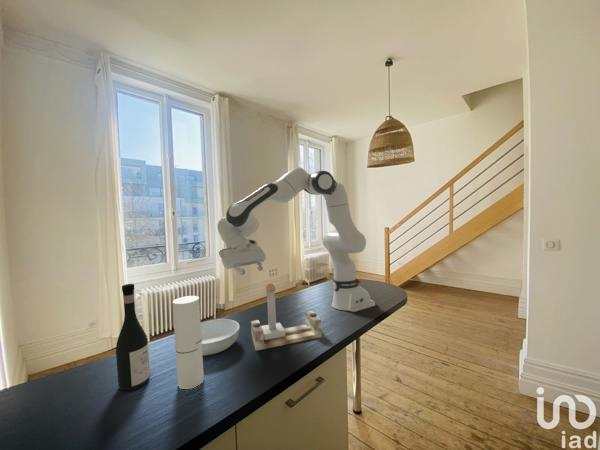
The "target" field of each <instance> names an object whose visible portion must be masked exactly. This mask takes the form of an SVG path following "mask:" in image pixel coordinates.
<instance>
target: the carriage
mask: <svg viewBox="0 0 600 450" xmlns="http://www.w3.org/2000/svg"><path fill="white" fill-rule="evenodd" d="M265 291H266V300H267V302H266V303H267V304H266V305H267V322H268V324H264V325H261V327H262V329H263V336H264V340H267V339H272V338H277V337H282V336H285V330H284V329H285V327H284V326H283V325H282V323H280V322H277V313H276V310H277V309H276V286H275V284H273V283H268V284H267V285H266V287H265Z"/></svg>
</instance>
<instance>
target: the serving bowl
mask: <svg viewBox="0 0 600 450" xmlns="http://www.w3.org/2000/svg"><path fill="white" fill-rule="evenodd" d="M239 334H240V324H239V322H238V321H236V320H233V319H230V318H229V319H227V318H215V319H211V320H209V319H208V320H205V321H201V339H202V355H203V356H210V355H215V354H218V353H221V352H223V351H225V350H227V349H228V348H230V347H231V346H232V345H233V344H234V343H235V342H236V341H237V339H238V337H239Z"/></svg>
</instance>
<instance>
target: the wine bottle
mask: <svg viewBox="0 0 600 450" xmlns="http://www.w3.org/2000/svg"><path fill="white" fill-rule="evenodd" d="M121 291H122V298H123V299H122V300H123V309H124V317H123V318H124V319H123V322H122V327H121V329H120V332H119V335H118V337H117V341H116V347H115V355H116V356H115V358H116V372H117V383H118V387H119V389H120V390H121V391H127V390H128V391H133V390H136V389H138V387H139V388H141V387H142V386H144V385H145V384H146V383H147V382H148V381H149V379H150V377H151V367H150V352H149V351H150V350H149V341H148V337H147V335H146V332H145V330H144V329H143V327H142V325H141V324H140V322H139V320H138V317H137V314H136V304H135V303H136V302H135V301H136V300H135V284H134V283H128V284H127V283H126V284H123V285H122V286H121ZM140 386H141V387H140ZM135 388H136V389H135ZM132 389H133V390H132Z"/></svg>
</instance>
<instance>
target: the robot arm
mask: <svg viewBox="0 0 600 450" xmlns="http://www.w3.org/2000/svg"><path fill="white" fill-rule="evenodd" d="M302 191H305V192H306V193H308V194H309V195H316V196H319V195H322V196H323V198H324V200H325V204H326V205H325V206H326V212H327V217H328V222H329V223H330V225H332V226H333V227H334V229H335V230H331V231H327V232H326V233H325V234H324V235H323V237H322V245H323V246H324V248H325V249H326V251H327V252H328V253H329V256H330V258H331V261H332V266H333V268H332V269H333V279H332V286H333V297H332V303H331V307H332V308H334V309H336V310H339V311H347V312H355V313H356V312H358V311H362V310H365V309H369V308H372V307H375V306H376V303H375V301H374V300H373V299H371V295H370V293H369V291H367V290H366V289H365V288H363V287H362V286H360V284H363V282H364V281H363V280H362V279H360V278H356V264H355V262H354V260H352V258H350V256H349V254H358V253H359V254H360V253H362V252H363V251H365V248H366V245H367V240H366V237H365V235H364V234H363V233H361V231H360V230H359V229H358V228H357V227H356V226H355V223H354V222H353V218H352V215H351V210H350V205H349V204H350V203H349V199H348V195H347V192H346V189H345V187H344V185H343V183H341V182H337V181H336V180H335V178H334V176H333V175H332V174H331V173H330V172H329V171H327V170H318V171H314V172H311V173H308V171H307V170H305V169H304V168H302V167H299V166H297V167H294V168H292V169H291V170H289V171H287V172H286V173H284V174H283V175H282V176H281V177H280V178H279V179H277V180H275V181H274V182H270V183H267V184H264V185H263V186H262V187H259V188H258V189H257V190H255V191H254V192H252V193H251V194H250V195H248V196H246V197H245V198H243V199H241V200H239V201H237V202H234V203H233V204H231V205H230V206H229V207H228V208H227V210H226V214H225V216H224V217H222V218H220V220H219V221H218V222H217V224H216V225H217V226H216V227H217V231H218V234H219V237H220V238H221V240H222V241H223V242H224V243H225V247H226V248H221V249H220V250H219V251H218V255H219V257H220V258H221V262H222V264H223V267H224V268H225V269H227V270H230V269H234V270H235V271H236V272H237V273H239V275H241V276H242V275H245V274H246V270H245V269H244V268H241V267H244V266H245V267H246V266H249V265H255V264H256V265H257V266H258V267H257V270H258V271H259V272H261V271H263V270H264V266H263V263H264V262H265V261H266V258H267V255H266V253H265V252H264V250H263V249H262V247H261V246H259V245H258V241H256V240H254V239H249V238H247V237H249V236H251V235H252V234H254V233H256V231H257V230H258V228H259V225H260V224H259V220H258V219H257V216H255V214H253V211H254V210H256V209H257V208H258V207H260V206H261V205H262V204H264V203H266V202H268V201H275V202H277V203H282V204H283V203H284V204H285V203H288V202H289V201H292V199H294V198H295V197H296V196H298V194H299V193H300V192H302Z"/></svg>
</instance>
